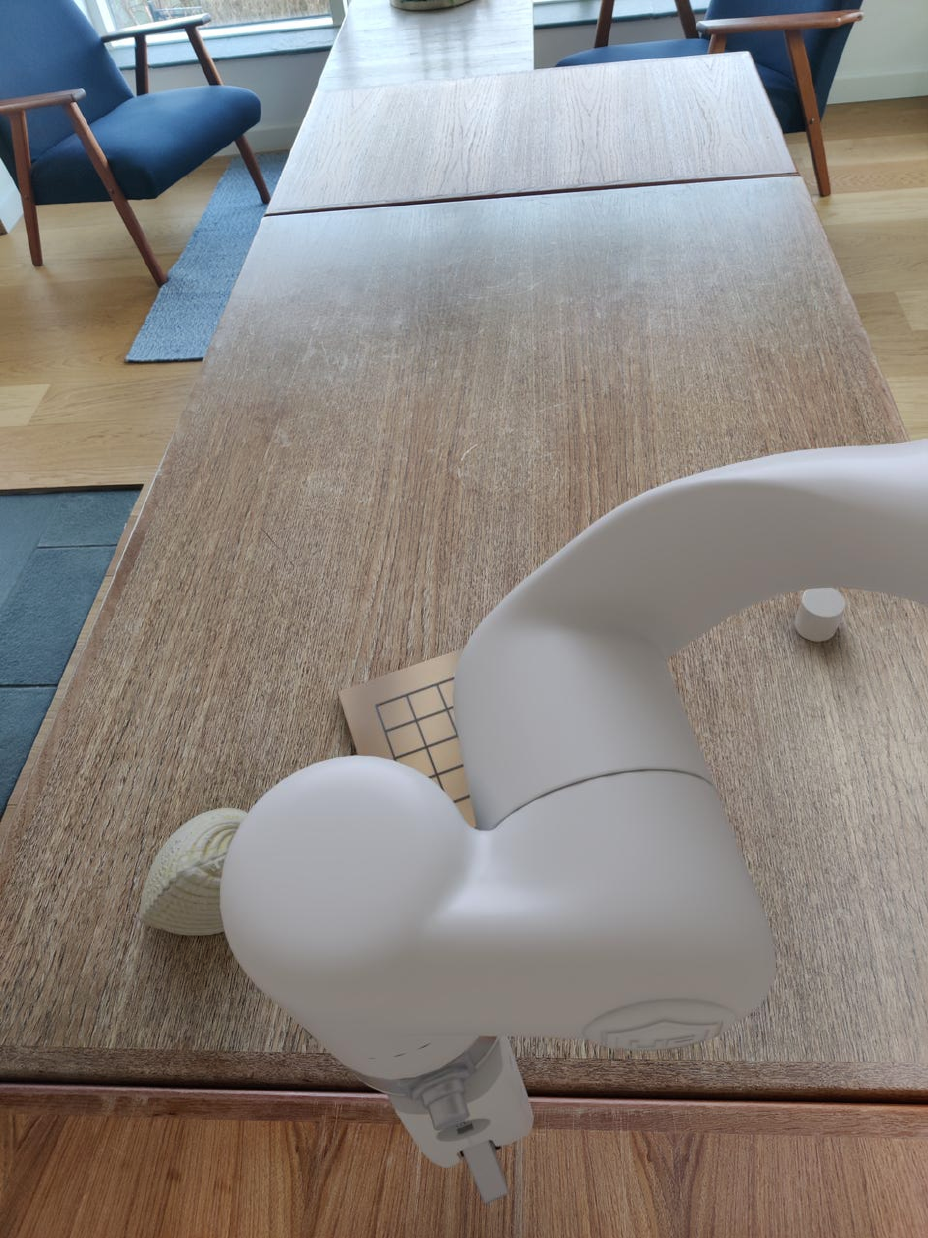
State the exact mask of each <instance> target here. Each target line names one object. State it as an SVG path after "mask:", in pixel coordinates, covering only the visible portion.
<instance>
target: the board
mask: <svg viewBox="0 0 928 1238" xmlns="http://www.w3.org/2000/svg"><path fill="white" fill-rule="evenodd" d="M464 648H465V646H464V647H462V648H458V649H456V650H452V651H450V652H447V653H444V654H442V655H439V656H435V657H432V658H429V659H427V660H424V661H421V662H419V663H418V662H417V663H416V664H413V665H410V666H406V667H405V668H404V667H403V668H401V669H398V670H396V671H393V672H390V673H388V674H384V675H382V676H378V677H376V678H373V679H369V680H367V681H365V682H361V683H358V684H356V685H353V686H350V687H347V688H344V689H341V690H339V691H337V695H338V698H339V701H340V704H341V707H342V711H343V714H344V718H345V720H346V723H347V726H348V729H349V732H350V735H351V739H352V742H353V744H354V748H355V751H356V755H357V756H376V757H380V758H385V759H389V760H394V761H396V762H399V763H401V764H404V765H406V766H409V767H411V768H414V769H416V770H417V771H419V772H420V773H422V774H424V775H425V776H427V777H428V778H430V779H431V780H433V781H434V782H435V783H436V784H437V785H438V786H439V787H440V788H441V789H442V790H443V791H444V792H445V793H446V794H447V795H448V796H449V797H450V798H451V799H452V801H453V802H454V803H455V805H456V806H457V807H458V809H459V811H460V812H461V814H462V816H463V818H464V819H465V821H466V822H467V823H468V824H469V825H470V826H471V827H473V828H475V829H477V827H476V823H475V818H474V813H473V808H472V803H471V799H470V794H469V789H468V784H467V780H466V775H465V770H464V766H463V761H462V755H461V750H460V744H459V739H458V733H457V727H456V721H455V714H454V707H453V684H454V677H455V672H456V667H457V664H458V661H459V658H460V656H461V654H462V652H463V650H464Z"/></svg>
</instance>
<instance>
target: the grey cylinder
mask: <svg viewBox="0 0 928 1238" xmlns="http://www.w3.org/2000/svg"><path fill="white" fill-rule="evenodd" d="M846 606H847V603H846V599H845V597H844V595H843V594H842V593H841V592H840V591H838V590H837V588H819V589H807V590H804V592H803V593H802V596H801V599H800V603H799V604H798V607H797V608H798V609H797V611H796V615H795V618H794V621H793V623H794V628H795V631H796V632H797V633H798V634H799V635H800V636H801V637H802V638H804V639H805V640H808V641H811V642H816V643H820V642H826V641H828V640H830V639H832V638H833V637H834V636H835V635H836V633H837V630H838V627H839V625H840V622H841V620H842V618H843V615H844V612H845V610H846Z"/></svg>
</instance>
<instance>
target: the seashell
mask: <svg viewBox="0 0 928 1238" xmlns="http://www.w3.org/2000/svg"><path fill="white" fill-rule="evenodd" d="M248 813H249V812H247V811H245V810H242V809H240V808H235V807H221V808H220V807H219V808H215V809H211V810H208V811H205V812H202V813H200V814H198V815H196V816H194V817H193V818H191V819H189V820H188V821H185V822H184V823H183V824H182V825H181V826H180V827H178V828H177V829H176V830H175V831H174V832H173V834H171V836H169V838H167V840H166V841H165V843H164V844H163V846H162V847H161V849H159V851H158V853H157V855H156V856H155V858H154V860H153V862H152V863H151V865H150V868H149V870H148V874H147V876H146V879H145V882H144V885H143V890H142V893H141V898H140V907H139V908H140V909H139V912H138V913H139V914H138V920H139V922H140V924H143V925H145V926H148V927H151V928H154V929H156V930H162V931H165V932H168V933H171V934H175V935H181V936H198V937H199V936H201V937H202V936H213V935H216V934H217V935H218V934H221V933H223V932H224V933H225V931H224V927H223V921H222V916H221V911H220V883H221V877H222V871H223V866H224V861H225V858H226V855H227V852H228V849H229V846H230V843H231V841H232V839H233V837H234V835H235V833H236V831H237V829H238V828H239V826H240V824H241V822H242V821H243V819H244V818H245V817H246V815H247V814H248Z"/></svg>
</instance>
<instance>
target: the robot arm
mask: <svg viewBox="0 0 928 1238" xmlns="http://www.w3.org/2000/svg"><path fill="white" fill-rule="evenodd" d="M819 588H834V589H850V590H851V589H852V590H860V591H867V592H868V591H869V592H877V593H881V594H884V595H888V596H891V597H895V598H900V599H904V600H906V601H907V600H908V601H912V602H915V603H917V604H919V605H922V606H924V607H926V608H928V437H927V438H922V439H921V438H920V439H916V440H910V441H905V442H898V443H897V442H896V443H895V442H894V443H884V444H883V443H882V444H867V445H841V446H829V447H820V448H819V447H818V448H807V449H799V450H792V451H785V452H780V453H774V454H770V455H765V456H760V457H757V458H753V459H748V460H743V461H739V462H734V463H730V464H727V465H723V466H719V467H716V468H712V469H708V470H705V471H701V472H696V473H694V474H691V475H687V476H683V477H681V478H678V479H674V480H672V481H669V482H667V483H664V484H661V485H659V486H656V487H654V488H651V489H649V490H646V491H644V492H642V493H641V494H638V495H637V496H635V497H633V498H631V499H629V500H627V501H625V502H623V503H621V504H619V505H618V506H616V507H614V508H613V509H612V510H610V511H609V512H607V513H606V514H604V515H603V516H601V517H600V518H599V519H597V520H596V521H594V522H593V523H592V524H590V525H589V526H588V527H586V528H585V529H584V530H583V531H582V532H580V533H579V534H578V535H576V536H575V537H574V538H572V539H571V541H569V542H568V543H567V544H566V545H564V546H563V547H562V548H561V549H559V550H558V551H556V553H554V555H552V556H551V557H549V558H548V559H547V560H546V561H545V562H543V563H542V565H540V566H539V567H538V568H536V569H535V570H534V571H532V572H531V573H530V574H529V575H528V576H527V577H526V578H525V579H523V580H522V581H521V582H520V583H518V584H517V586H515V587H514V588H513V589H512V590H511V591H510V592H508V594H506V595H505V596H504V597H503V598H502V600H500V602H499V603H498V604H497V605H495V607H494V608H492V609H491V611H490V612H488V614H487V615H486V616H485V618H483V620H482V621H481V622H480V623H479V624H478V626H477V627H476V628H475V629H474V631H473V632H472V634H471V635H470V637H469V638H468V641H467V643H466V644H465V646H464V647H465V648H464V647H463V648H464V650H463V652H462V654H461V656H460V658H459V661H458V664H457V667H456V672H455V677H454V684H453V707H454V714H455V721H456V727H457V733H458V739H459V744H460V750H461V755H462V761H463V766H464V770H465V775H466V780H467V784H468V789H469V794H470V799H471V803H472V808H473V813H474V818H475V823H476V827H477V829H475V828H473V827H471V826H470V825H469V824H468V823H467V822H466V821H465V819H464V818H463V816H462V814H461V812H460V811H459V809H458V807H457V806H456V805H455V803H454V802H453V801H452V799H451V798H450V797H449V796H448V795H447V794H446V793H445V792H444V791H443V790H442V789H441V788H440V787H439V786H438V785H437V784H436V783H435V782H434V781H433V780H431V779H430V778H428V777H427V776H425V775H424V774H422V773H420V772H419V771H417V770H416V769H414V768H411V767H409V766H406V765H404V764H401V763H399V762H396V761H394V760H389V759H385V758H380V757H376V756H358V754H356V755H347V756H338V757H333V758H329V759H326V760H322V761H318V762H315V763H312V764H310V765H308V766H306V767H303V768H301V769H298V770H297V771H295V772H293V773H292V774H290V775H288V776H287V777H285V778H284V779H282V780H280V781H279V782H277V784H275V785H274V786H273V787H271V788H270V789H269V790H268V791H267V792H266V793H264V794H263V795H262V796H261V798H259V799H258V800H257V801H256V802H255V804H254V805H253V806H252V807H251V808H250V810H249V811H248V812H247V813H248V814H247V815H246V817H245V818H244V819H243V821H242V822H241V824H240V826H239V828H238V829H237V831H236V833H235V835H234V837H233V839H232V841H231V843H230V846H229V849H228V852H227V855H226V858H225V861H224V866H223V871H222V877H221V883H220V911H221V916H222V921H223V927H224V935H225V938H226V941H227V943H228V946H229V948H230V951H231V953H232V954H233V956H234V959H235V960H236V962H237V963H238V965H239V966H240V968H241V969H242V970H243V972H244V973H245V974H246V975H247V976H248V978H249V979H250V980H251V982H252V983H253V984H254V985H255V986H256V987H257V988H258V989H259V991H261V992H262V993H263V994H264V995H265V996H266V997H268V998H269V999H270V1001H272V1002H273V1003H274V1004H276V1005H277V1007H278V1008H279V1009H280V1010H282V1011H283V1012H284V1013H285V1014H287V1016H289V1017H290V1018H291V1019H292V1020H293V1021H294V1022H296V1024H298V1026H300V1027H301V1028H302V1029H303V1030H304V1031H305V1032H306V1033H307V1034H308V1035H309V1036H310V1037H311V1038H313V1039H314V1041H316V1042H317V1043H318V1044H320V1045H321V1047H323V1049H325V1050H326V1051H327V1052H328V1053H329V1054H330V1055H331V1056H332V1057H333V1058H334V1059H335V1060H336V1061H337V1062H338V1063H339V1064H340V1065H341V1066H343V1067H344V1068H345V1069H346V1070H347V1071H348V1072H349V1073H351V1074H352V1075H353V1076H354V1077H355V1078H356V1079H358V1080H359V1081H360V1082H362V1083H364V1085H366V1086H368V1087H369V1088H372V1089H374V1090H376V1091H379V1092H381V1093H384V1094H386V1097H388V1099H389V1101H390V1103H391V1104H392V1107H393V1109H394V1112H395V1114H396V1116H397V1117H398V1118H399V1119H400V1121H401V1123H402V1124H403V1126H404V1128H405V1129H406V1130H407V1132H408V1134H409V1135H410V1137H411V1139H412V1141H413V1142H414V1143H415V1145H416V1146H417V1148H418V1149H419V1150H420V1151H421V1152H422V1154H423V1155H424V1156H425V1157H426V1158H427V1159H428V1160H429V1161H430V1162H432V1163H433V1164H435V1165H437V1166H439V1167H440V1168H445V1169H451V1168H452V1167H455V1166H457V1165H458V1164H459V1163H460V1162H462V1158H465V1161H466V1163H467V1166H468V1168H469V1171H470V1174H471V1176H472V1178H473V1181H474V1183H475V1184H476V1185H475V1186H476V1188H477V1190H478V1192H479V1194H480V1197H481V1199H482V1203H483V1204H484V1205H487V1204H489V1203H492V1202H494V1201H496V1200H499V1199H501V1198H503V1197H505V1196H508V1195H510V1194H511V1192H510V1189H509V1185H508V1183H507V1178H506V1176H505V1171H504V1169H503V1166H502V1162H501V1159H500V1157H499V1154H498V1151H499V1150H502V1147H505V1146H508V1145H511V1144H514V1143H515V1142H518V1141H519V1140H521V1139H523V1138H524V1137H526V1136H529V1134H531V1132H532V1129H533V1126H534V1122H535V1119H534V1118H535V1117H534V1115H535V1114H534V1112H533V1109H532V1105H531V1102H530V1099H529V1096H528V1092H527V1090H526V1086H525V1084H524V1080H523V1077H522V1075H521V1072H520V1069H519V1066H518V1064H517V1059H516V1057H515V1054H514V1052H513V1048H512V1045H511V1042H510V1040H509V1037H512V1038H537V1039H539V1038H540V1039H563V1040H565V1039H566V1040H587V1041H589V1042H591V1044H593V1045H597V1046H599V1047H601V1048H604V1049H610V1050H616V1051H622V1052H657V1051H669V1050H674V1049H679V1048H680V1049H681V1048H684V1047H685V1048H686V1047H690V1046H694V1045H698V1044H701V1043H704V1042H706V1041H709V1040H712V1039H714V1038H716V1037H720V1036H721V1035H722V1034H724V1033H726V1032H727V1031H729V1030H730V1029H731V1028H732V1027H733V1025H734V1024H737V1023H738V1022H741V1020H743V1019H745V1018H747V1017H749V1016H750V1015H751V1014H753V1013H754V1012H755V1011H756V1010H757V1009H758V1008H759V1007H760V1006H761V1005H762V1004H763V1002H764V1001H765V999H767V998H768V995H769V993H770V990H771V988H772V986H773V983H774V980H775V975H776V968H777V963H776V962H777V961H776V950H775V943H774V938H773V934H772V931H771V928H770V924H769V921H768V917H767V914H766V911H765V908H764V906H763V904H762V901H761V898H760V896H759V893H758V891H757V889H756V885H755V883H754V880H753V878H752V876H751V873H750V870H749V868H748V866H747V864H746V860H745V858H744V856H743V853H742V850H741V847H740V846H739V843H738V841H737V838H736V836H735V833H734V831H733V828H732V825H731V824H730V821H729V818H728V815H727V814H726V811H725V809H724V806H723V803H722V800H721V798H720V795H719V792H718V790H717V787H716V785H715V783H714V779H713V777H712V774H711V772H710V770H709V767H708V764H707V761H706V759H705V757H704V754H703V752H702V750H701V747H700V744H699V741H698V739H697V737H696V735H695V732H694V729H693V728H692V724H691V722H690V719H689V718H688V714H687V712H686V709H685V707H684V705H683V702H682V700H681V696H680V694H679V691H678V689H677V686H676V683H675V680H674V678H673V676H672V673H671V670H670V668H669V666H668V664H667V662H668V661H669V660H670V659H671V658H672V657H673V656H675V655H676V654H678V653H679V652H680V651H682V650H683V649H684V648H686V647H687V646H689V645H690V644H691V643H692V642H694V641H695V640H697V639H698V638H700V637H701V636H703V635H704V634H706V633H708V632H709V631H711V630H712V629H714V628H715V627H717V626H719V625H720V624H721V623H723V622H724V621H726V620H728V619H729V618H731V617H733V616H734V615H737V614H739V613H740V612H742V611H744V610H746V609H748V608H749V607H752V606H755V605H757V604H760V603H762V602H766V601H768V600H771V599H773V598H775V597H779V596H782V595H783V596H784V595H786V594H791V593H792V594H793V593H796V592H801V591H806V590H807V589H819Z"/></svg>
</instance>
